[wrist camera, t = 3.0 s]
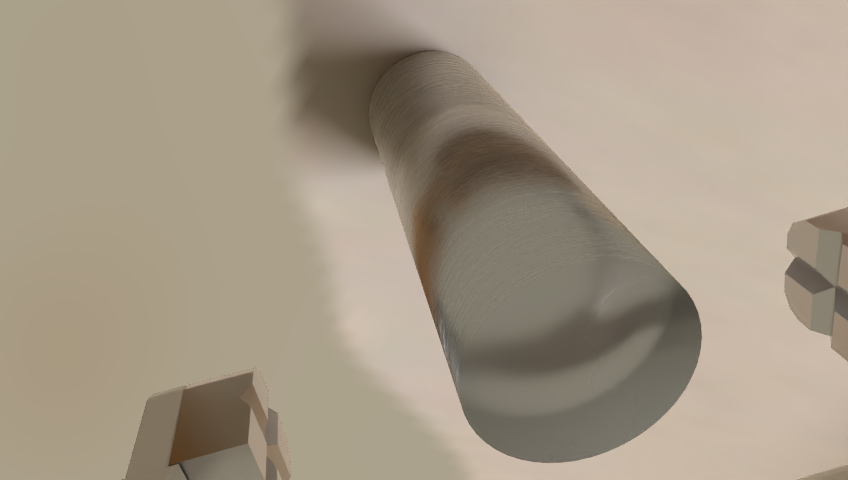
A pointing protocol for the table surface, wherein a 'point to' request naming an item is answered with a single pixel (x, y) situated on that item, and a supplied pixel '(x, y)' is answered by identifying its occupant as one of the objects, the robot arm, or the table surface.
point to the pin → (527, 272)
